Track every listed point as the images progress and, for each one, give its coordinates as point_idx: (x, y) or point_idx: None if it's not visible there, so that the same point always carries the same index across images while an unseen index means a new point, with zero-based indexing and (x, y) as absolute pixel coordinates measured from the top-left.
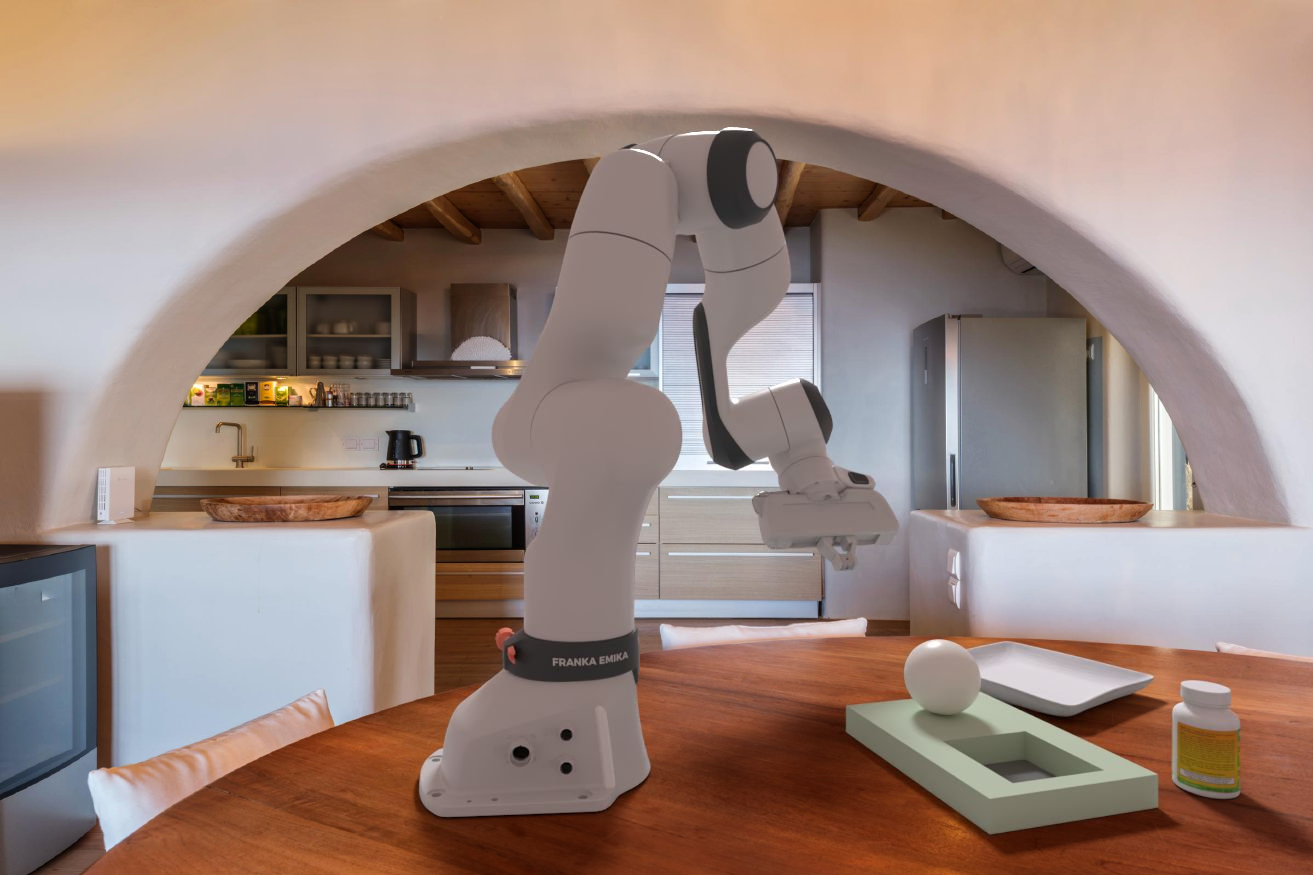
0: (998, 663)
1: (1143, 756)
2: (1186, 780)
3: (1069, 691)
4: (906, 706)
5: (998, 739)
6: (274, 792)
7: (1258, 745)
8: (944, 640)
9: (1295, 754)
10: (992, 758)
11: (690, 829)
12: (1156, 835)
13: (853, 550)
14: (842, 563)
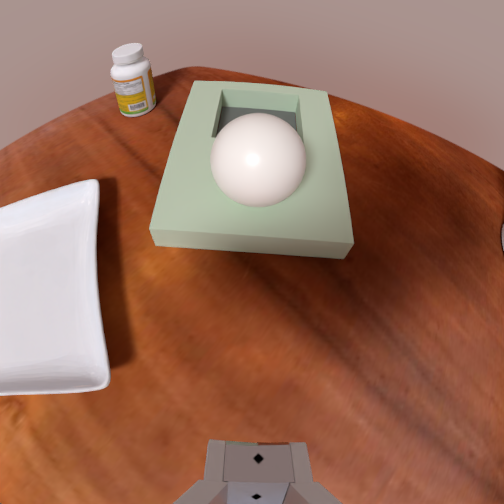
0: None
1: (116, 141)
2: (155, 98)
3: (12, 262)
4: (282, 217)
5: None
6: None
7: (34, 142)
8: (257, 123)
9: (36, 130)
10: None
11: (473, 173)
12: None
13: (201, 491)
14: (289, 444)
